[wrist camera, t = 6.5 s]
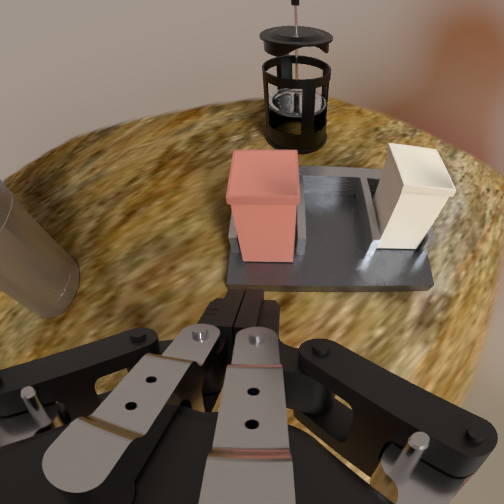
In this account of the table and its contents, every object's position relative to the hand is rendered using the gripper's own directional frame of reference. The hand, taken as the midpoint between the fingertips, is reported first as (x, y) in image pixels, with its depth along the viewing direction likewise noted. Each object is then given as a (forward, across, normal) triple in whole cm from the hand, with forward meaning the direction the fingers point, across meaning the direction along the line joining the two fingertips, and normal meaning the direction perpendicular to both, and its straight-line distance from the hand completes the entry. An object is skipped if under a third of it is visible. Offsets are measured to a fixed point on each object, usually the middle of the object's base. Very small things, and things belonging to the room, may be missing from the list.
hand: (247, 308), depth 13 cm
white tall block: (+20, -14, 0) cm, 24 cm away
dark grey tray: (+21, -7, +2) cm, 22 cm away
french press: (+35, -3, -12) cm, 37 cm away
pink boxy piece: (+19, 0, +1) cm, 19 cm away
